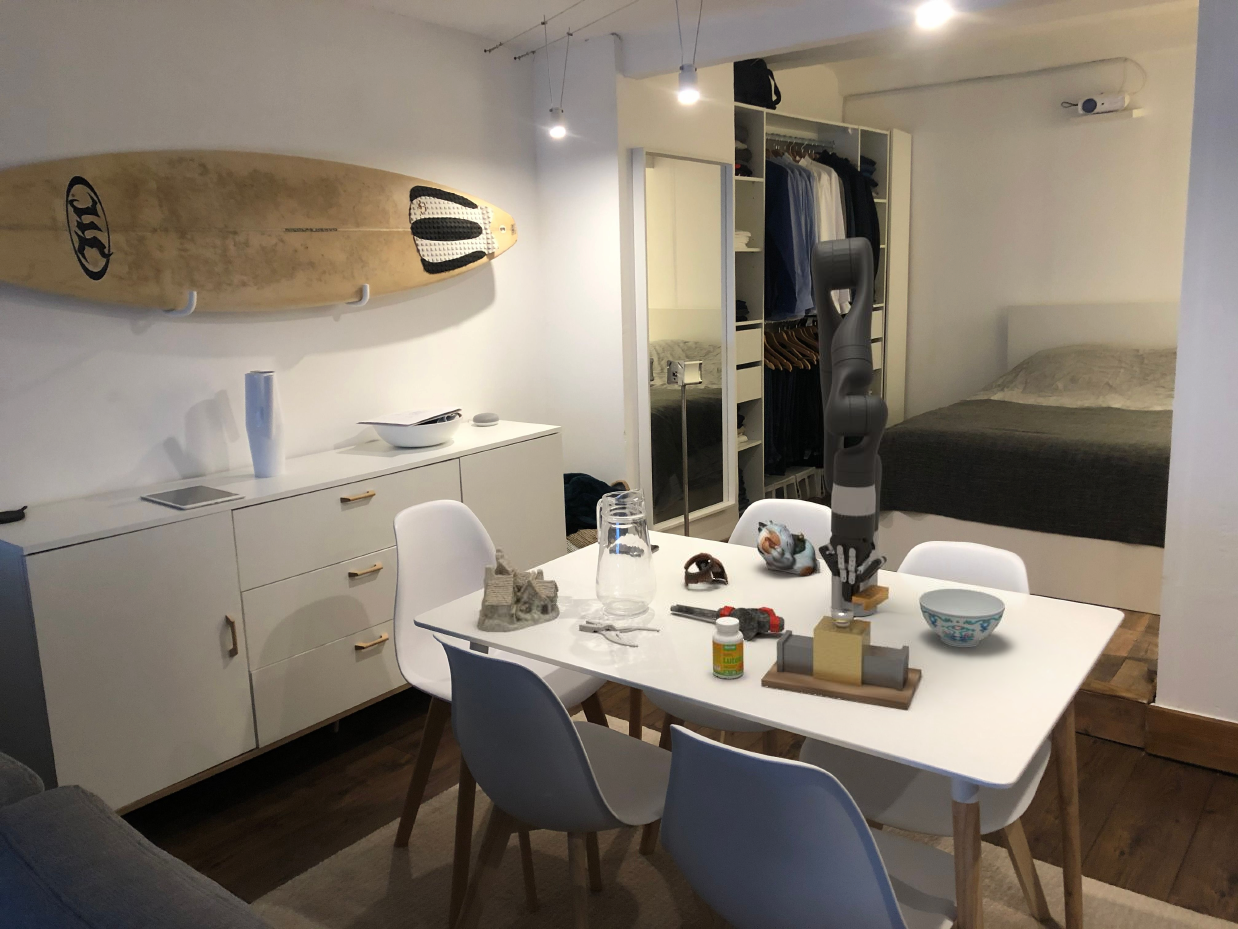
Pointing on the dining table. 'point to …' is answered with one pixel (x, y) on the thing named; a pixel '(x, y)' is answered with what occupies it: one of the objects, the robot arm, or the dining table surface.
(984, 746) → the dining table surface
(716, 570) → the brown openwork dome
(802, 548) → the lucky cat figurine
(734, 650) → the supplement bottle
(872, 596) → the valve lever
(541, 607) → the ceramic cottage
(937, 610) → the chinaware
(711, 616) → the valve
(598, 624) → the pliers
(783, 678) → the walnut board
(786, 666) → the valve and pipe
